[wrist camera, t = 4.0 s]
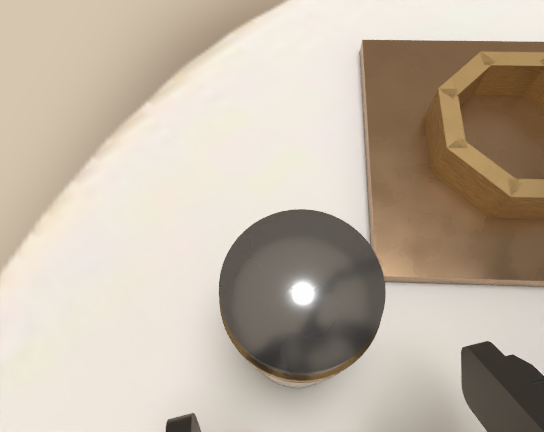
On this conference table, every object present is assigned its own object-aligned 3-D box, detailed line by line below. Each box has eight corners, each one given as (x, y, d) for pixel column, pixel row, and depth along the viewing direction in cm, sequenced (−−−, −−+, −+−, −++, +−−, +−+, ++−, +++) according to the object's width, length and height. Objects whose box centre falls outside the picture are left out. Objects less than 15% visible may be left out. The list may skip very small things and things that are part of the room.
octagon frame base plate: (601, 54, 28) (642, 9, 25) (686, 291, 22) (755, 272, 19) (359, 51, 29) (369, 7, 26) (372, 280, 23) (387, 260, 19)
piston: (345, 287, 22) (383, 206, 13) (349, 392, 20) (398, 381, 11) (248, 285, 23) (221, 204, 14) (242, 389, 21) (205, 375, 11)
